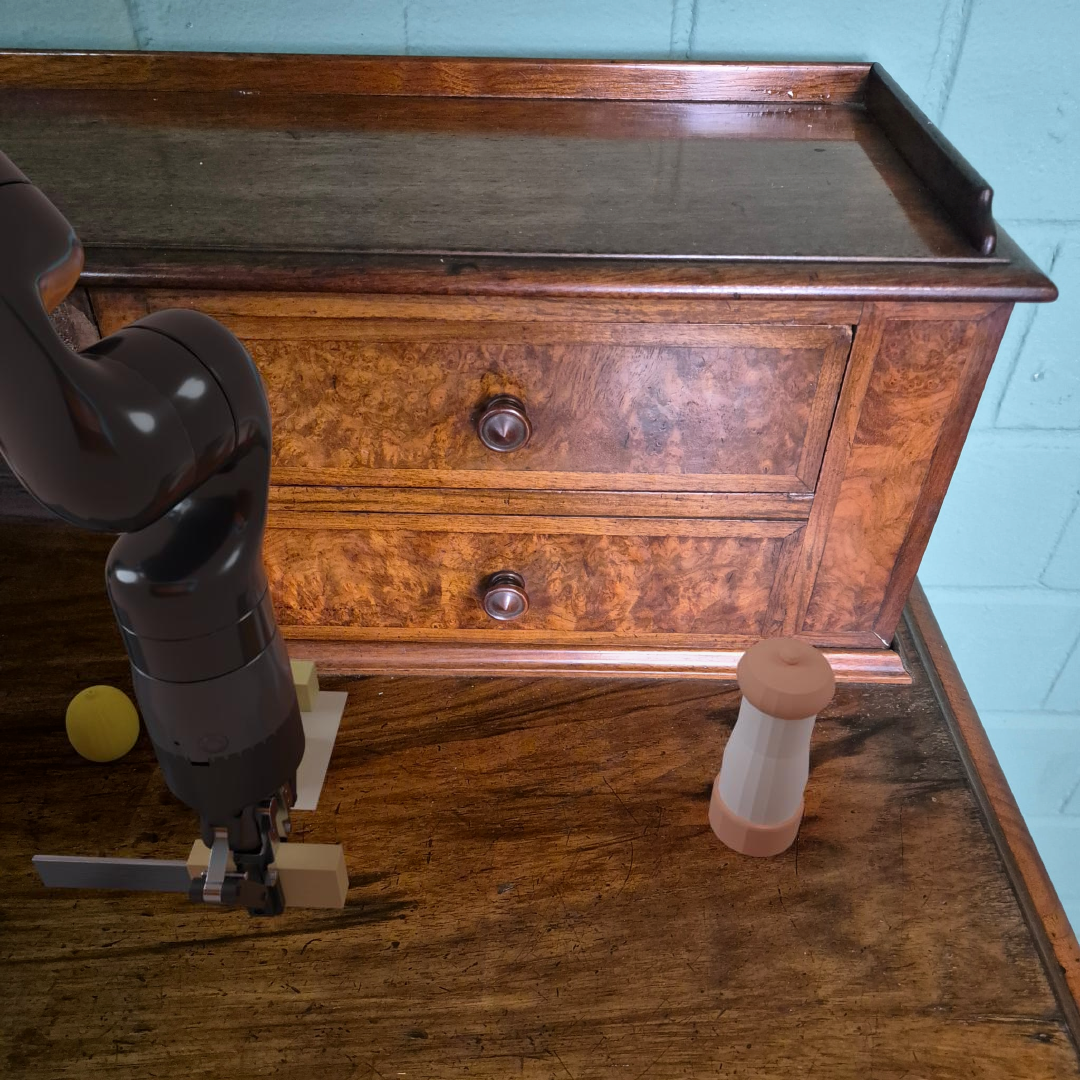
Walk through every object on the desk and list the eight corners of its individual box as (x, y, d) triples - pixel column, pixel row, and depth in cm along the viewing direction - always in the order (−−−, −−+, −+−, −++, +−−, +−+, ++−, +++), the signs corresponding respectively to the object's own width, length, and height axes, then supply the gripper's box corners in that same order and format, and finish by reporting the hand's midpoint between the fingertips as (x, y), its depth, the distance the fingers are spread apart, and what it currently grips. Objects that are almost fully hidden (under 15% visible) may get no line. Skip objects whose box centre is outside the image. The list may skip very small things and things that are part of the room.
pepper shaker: (726, 864, 75) (764, 693, 64) (696, 791, 81) (725, 622, 69) (812, 849, 76) (863, 678, 65) (776, 778, 82) (817, 610, 71)
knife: (39, 896, 59) (19, 858, 57) (52, 871, 60) (33, 832, 58) (343, 909, 59) (335, 870, 56) (349, 883, 60) (342, 844, 58)
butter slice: (263, 710, 87) (256, 682, 84) (271, 686, 89) (266, 659, 87) (312, 712, 86) (307, 684, 84) (319, 688, 89) (314, 661, 87)
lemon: (69, 756, 83) (42, 692, 78) (129, 722, 86) (106, 658, 81) (100, 792, 80) (73, 726, 75) (160, 755, 83) (138, 690, 78)
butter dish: (196, 811, 78) (194, 804, 78) (243, 693, 89) (242, 687, 89) (316, 816, 78) (315, 809, 78) (349, 697, 89) (348, 691, 88)
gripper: (192, 609, 55) (245, 801, 65) (94, 803, 44) (175, 998, 54) (322, 613, 55) (353, 805, 65) (255, 809, 43) (306, 1004, 54)
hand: (272, 892), depth 59 cm, fingers closed on knife, 2 cm apart
